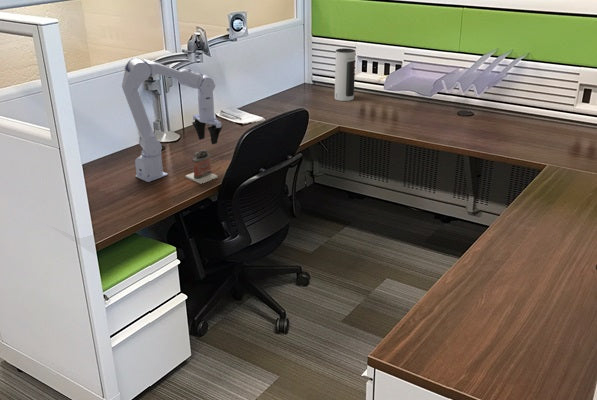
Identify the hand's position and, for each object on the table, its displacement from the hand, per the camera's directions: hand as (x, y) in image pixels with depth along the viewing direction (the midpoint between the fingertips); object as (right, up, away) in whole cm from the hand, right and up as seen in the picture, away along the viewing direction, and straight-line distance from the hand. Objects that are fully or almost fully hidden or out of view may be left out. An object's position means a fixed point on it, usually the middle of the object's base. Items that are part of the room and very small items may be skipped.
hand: (208, 141), depth 242 cm
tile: (-2, -14, -6) cm, 16 cm away
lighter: (-1, -14, -6) cm, 15 cm away
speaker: (+59, +31, +90) cm, 112 cm away
